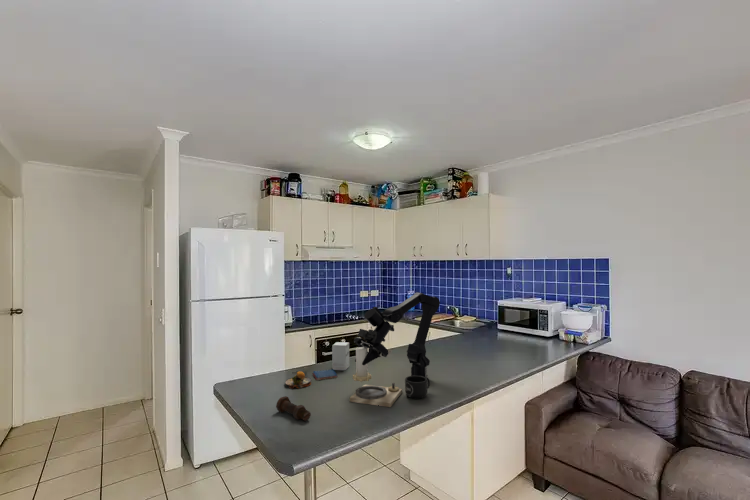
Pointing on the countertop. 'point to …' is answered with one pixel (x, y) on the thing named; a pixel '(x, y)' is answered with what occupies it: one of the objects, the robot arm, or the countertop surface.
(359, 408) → the countertop surface
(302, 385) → the burger
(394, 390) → the gear board
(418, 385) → the mug
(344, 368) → the supplement box
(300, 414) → the bolt
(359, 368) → the gear spindle
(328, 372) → the woven mat
